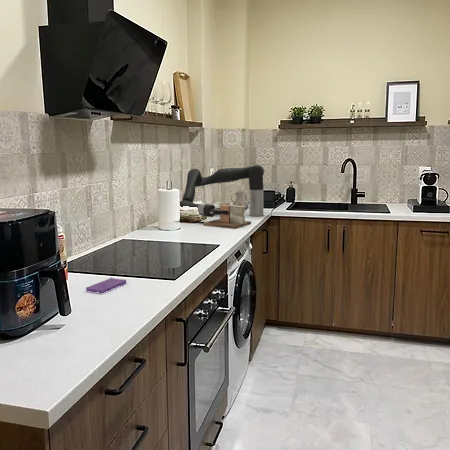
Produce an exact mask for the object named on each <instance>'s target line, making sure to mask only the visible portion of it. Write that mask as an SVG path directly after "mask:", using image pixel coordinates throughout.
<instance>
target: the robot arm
mask: <svg viewBox="0 0 450 450" xmlns="http://www.w3.org/2000/svg"><path fill="white" fill-rule="evenodd" d="M264 174H265V169H264V167H263V166H262V165H260V164H255V165H252V166H251V165H250V166H247V167H245V166H244V167H226V168H220V169H218V170H216V171H215V172H214V173H213V174H211V175H209V176H205V177H204V176H203V175H202V172H201V170H200V169H198V168H191V169H190V170H189V171H188V173H187V176H186V177H187V178H186V184H185V189H184V190H185V191H184V193H183V195H182V198H181V199H182V200H181V201H179V202H180V206H181V207H183V206H189V207H197V208H198V212H199V214H200V215H201V217H208V218H213V217H215V216H220V215H222V214H225V215H228V211H222V210H220V207H216V206H215V205H214V204H207V203H194V199H195V195H196V188H197V187H203V186H207V185H214V184H219V183H220V184H221V183H222V184H223V183H231V182H236V181H239V180H243V179H248V185H249V186H248V187H249V201H250V203H249V216H251V217H262V216H264V189H265V188H264Z"/></svg>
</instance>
